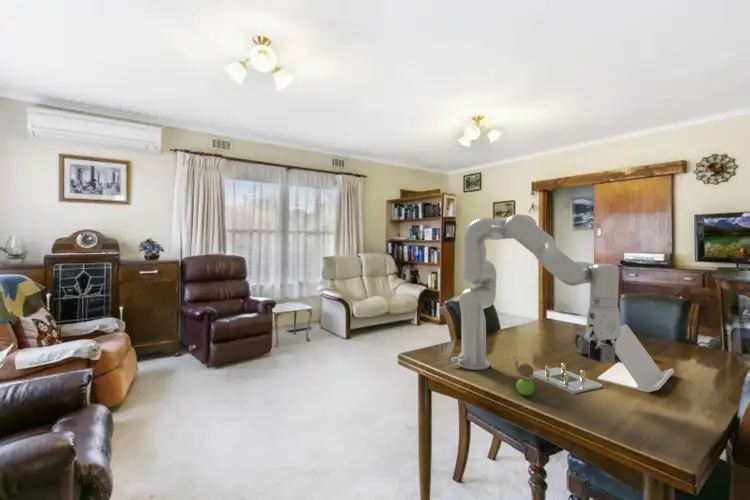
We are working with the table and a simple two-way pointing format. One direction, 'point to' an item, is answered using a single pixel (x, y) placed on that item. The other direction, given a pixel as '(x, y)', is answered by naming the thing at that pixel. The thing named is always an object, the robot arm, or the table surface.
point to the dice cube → (605, 353)
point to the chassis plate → (566, 379)
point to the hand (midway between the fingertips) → (601, 358)
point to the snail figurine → (524, 378)
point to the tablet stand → (634, 365)
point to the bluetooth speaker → (583, 343)
